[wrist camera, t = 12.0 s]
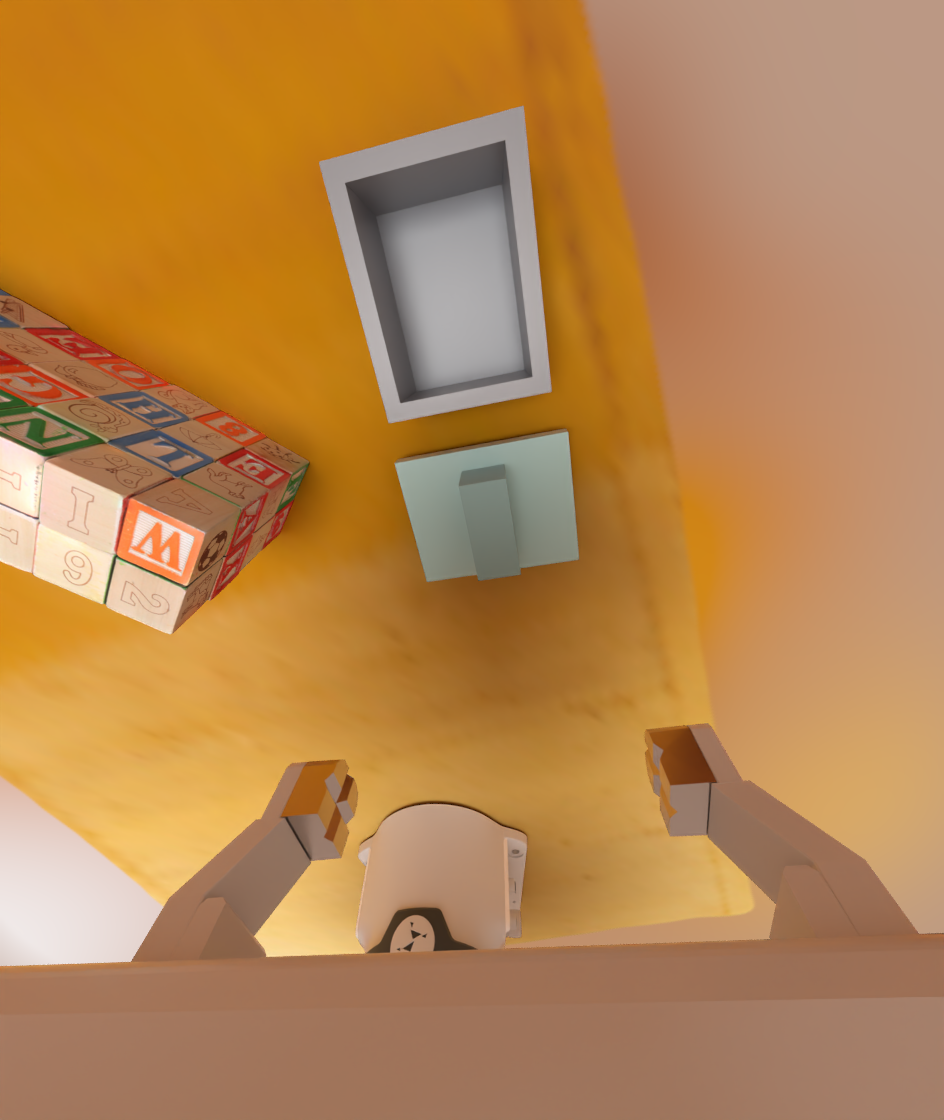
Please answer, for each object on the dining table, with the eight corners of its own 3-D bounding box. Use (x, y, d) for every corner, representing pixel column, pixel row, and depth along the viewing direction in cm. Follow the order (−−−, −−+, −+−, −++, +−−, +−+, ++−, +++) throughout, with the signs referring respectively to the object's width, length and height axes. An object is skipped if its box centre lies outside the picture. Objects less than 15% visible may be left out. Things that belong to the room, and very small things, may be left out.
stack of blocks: (-45, 367, 27) (-419, 387, 16) (-43, 262, 24) (-488, 198, 13) (282, 534, 31) (169, 640, 20) (314, 460, 28) (203, 536, 17)
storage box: (538, 380, 26) (551, 391, 20) (409, 406, 26) (388, 423, 21) (515, 164, 21) (523, 105, 16) (360, 204, 22) (318, 161, 17)
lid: (562, 424, 27) (577, 442, 22) (573, 545, 30) (588, 582, 26) (401, 454, 28) (383, 477, 23) (430, 566, 32) (420, 605, 27)
